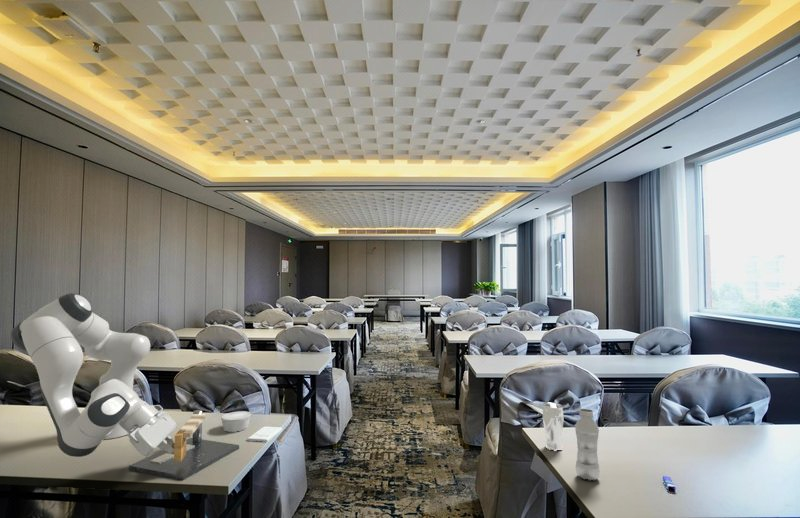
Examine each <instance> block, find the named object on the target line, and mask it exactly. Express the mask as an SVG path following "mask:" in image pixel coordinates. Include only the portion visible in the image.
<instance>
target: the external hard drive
mask: <svg viewBox="0 0 800 518" xmlns="http://www.w3.org/2000/svg"><path fill="white" fill-rule="evenodd" d="M282 431H283V427H279V426H263V427H261V428H260V429H259V430H257V431H255V432H254V433H253V434H251V435H249V436H248V437H247V438H246V441H247V442H259V441H262V442H261V443H269V442H270V441H271V440H272V439H273V438H274V437H276V436H277V435H278V434H279V433H281V432H282Z"/></svg>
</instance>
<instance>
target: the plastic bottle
mask: <svg viewBox="0 0 800 518" xmlns="http://www.w3.org/2000/svg"><path fill="white" fill-rule="evenodd" d="M579 417H580V418H579V419H578V420H577V421H576V423H575V426H574V430H575V435H576V445H577V447H576V448H577V453H576V454H577V455H576V463H575V471H576V474H577V476H578V477H579V478H580V477H581V479H582V478H583V480H585V479H588V480H587V481H591V480H593V481H597V480H598V479H599V477H600V474H601V470H600V465H599V459H598V439H599V431H600V429H599V426H598V424H597V423H596V422H595V420H594V419H593V418H594V410H592V409H590V408H580V409H579ZM596 479H597V480H596Z"/></svg>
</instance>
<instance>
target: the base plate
mask: <svg viewBox="0 0 800 518" xmlns="http://www.w3.org/2000/svg"><path fill="white" fill-rule="evenodd" d="M193 414H203V410H202V409H196V410H193V411H192V415H193ZM202 435H203V422H202V423H201V424H200V425H199V427H198V428H197V429H196V430H195V432H194V433H193V434H192V436H191V437H190V438H186V455H185V457H184V458H183V459H182V461H180V462H174V451H173V452H172V453H171V454H169V453H168V452H167V451H165V450H162V449H161V450H160V451H158V452H156V453H154V454H152V455H148V456H146V457H145V458H143V459H141V460H139V461H136V462H134V463H132V464H129V466H128V470H131V471H135V472H140V473H146V474H149V473H151V474H150V475H154V476H160V477H166V478H171V479H175V480H180V481H185V480H186V479H188V478H190V477H191V476H193V475H195V474H197V473H198V472H200V471H202V470H203V469H205V468H207V467H210V466H211V465H213V464H215V463H217V462H218V461H220V460H221V459H223V458H225V457H227V456H229V455H230V454H232V453H234V452H236V451H237V450H239V449H240V444H234V443H227V442H223V441H221V442H220V441H215V440H209V439H202V437H203V436H202Z"/></svg>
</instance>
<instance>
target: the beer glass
mask: <svg viewBox="0 0 800 518" xmlns="http://www.w3.org/2000/svg"><path fill="white" fill-rule="evenodd" d="M542 422H543V428H544V434H545V441H544V448H545V447H546V448H548V449H550V450H561V449H564V447H563V442H562V435H563V428H564V407H563V405H562V404H560V403H557V402H544V403H543V404H542ZM546 448H545V449H546ZM548 449H547V450H548ZM550 450H549V451H550Z"/></svg>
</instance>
